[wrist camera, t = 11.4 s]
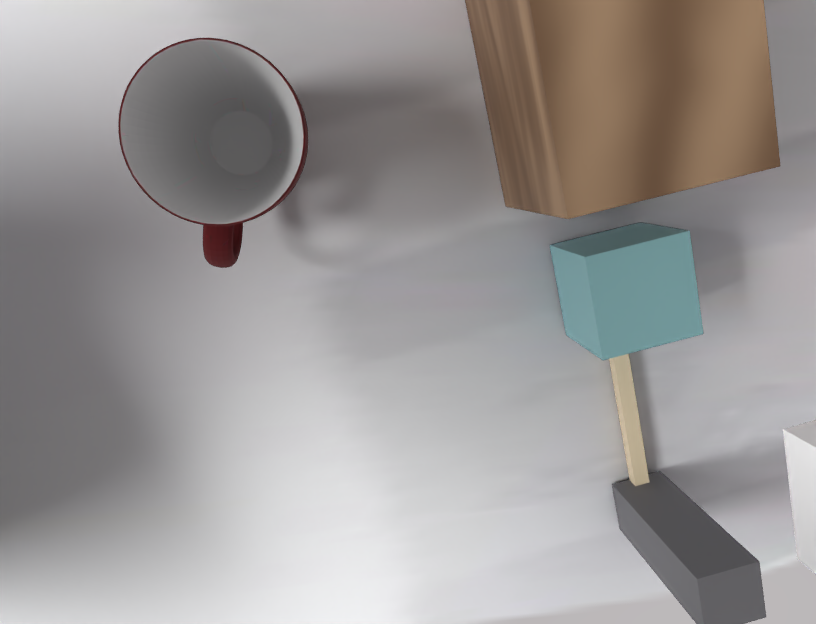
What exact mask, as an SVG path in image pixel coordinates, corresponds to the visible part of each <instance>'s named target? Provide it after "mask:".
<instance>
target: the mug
mask: <svg viewBox="0 0 816 624" xmlns="http://www.w3.org/2000/svg"><path fill="white" fill-rule="evenodd" d="M119 139H120V145H121V149H122V153H123V156H124V159H125V162H126V164H127V166H128V169H129V171H130V172H131V174H132V176H133V178H134V179H135V181H136V182H137V184H138V185H139V186H140V188H141V189H142V190H143V191H144V192H145V193H146V194H147V195H148V196H149V198H150V199H152V200H153V201H154V202H155V203H156V204H157V205H159V206H160V207H162V208H163V209H164V210H166V211H168V212H169V213H171V214H173V215H175V216H177V217H179V218H181V219H184V220H187V221H190V222H193V223H197V224H202V225H203V250H204V256H205V259H206V260H207V262H208V263H209V264H211V265H213V266H216V267H220V268H227V267H231V266H232V265H234V264H235V263H236V261H237V259H238V256H239V253H240V248H241V243H242V232H243V222H247V221H249V220H252V219H255V218H257V217H259V216H262V215H264V214H265V213H267V212H269V211H270V210H272V209H273V208H275V207H276V206H277V205H279V204H280V203H281V202H282V201H283V200H284V199H285V198H286V197H287V196H288V194H289V193H290V192H291V191H292V189H293V188H294V187H295V185H296V183H297V181H298V180H299V178H300V175H301V173H302V171H303V168H304V165H305V161H306V157H307V150H308V130H307V123H306V119H305V115H304V112H303V109H302V106H301V104H300V101H299V99H298V97H297V95H296V93H295V92H294V90H293V88H292V87H291V85H290V84H289V82H288V81H287V80H286V78H285V77H284V76H283V75H282V73H281V72H280V71H279V70H278V69H277V68H276V67H275V66H274V65H273V64H272V63H271V62H270V61H268V60H267V59H266V58H264V57H263V56H262V55H260V54H259V53H257V52H255V51H254V50H252V49H250V48H248V47H246V46H243V45H241V44H238V43H235V42H231V41H228V40H223V39H216V38H196V39H189V40H185V41H181V42H178V43H175V44H172V45H170V46H168V47H166V48H164V49H162V50H160V51H159V52H157V53H155V54H154V55H153V56H152V57H150V58H149V59H148V60H147V61H146V62H145V63H144V64H143V65H142V66H141V67H140V68H139V69H138V70H137V72H136V73H135V75H134V76H133V77H132V79H131V81H130V83H129V84H128V86H127V88H126V91H125V93H124V96H123V99H122V103H121V107H120V113H119Z"/></svg>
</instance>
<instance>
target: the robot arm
mask: <svg viewBox="0 0 816 624" xmlns="http://www.w3.org/2000/svg"><path fill="white" fill-rule="evenodd" d="M783 435H784V444H785V453H786V462H787V471H788V480H789V489H790V499H791V508H792V517H793V526H794V535H795V544H796V553H797V560H798V561H800V562H801V563H802V564H803V565H804V566H806V567H807V568H808V569H810V570H811V571H812V572H813V573H814V574H815V575H816V420H813V421H810V422H806V423H803V424H799V425H795V426H792V427H788V428H785V429H783Z"/></svg>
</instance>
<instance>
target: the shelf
mask: <svg viewBox="0 0 816 624" xmlns="http://www.w3.org/2000/svg"><path fill="white" fill-rule="evenodd" d="M465 3H466V8H467V13H468V18H469V23H470V28H471V33H472V38H473V43H474V48H475V53H476V58H477V64H478V69H479V74H480V79H481V84H482V89H483V94H484V99H485V104H486V109H487V114H488V119H489V125H490V130H491V135H492V140H493V145H494V150H495V155H496V160H497V165H498V170H499V175H500V180H501V185H502V191H503V196H504V201H505V206H506V207H511V208H516V209H521V210H526V211H530V212H535V213H540V214H545V215H550V216H555V217H560V218H565V219H570V218H574V217H578V216H582V215H587V214H591V213H595V212H599V211H603V210H607V209H611V208H615V207H619V206H623V205H627V204H631V203H635V202H639V201H643V200H647V199H651V198H655V197H659V196H663V195H667V194H671V193H675V192H679V191H683V190H687V189H691V188H695V187H699V186H703V185H707V184H711V183H715V182H719V181H723V180H727V179H731V178H735V177H739V176H743V175H747V174H751V173H755V172H759V171H763V170H767V169H771V168H775V167H779V166H780V158H779V148H778V138H777V128H776V119H775V109H774V99H773V89H772V79H771V69H770V59H769V49H768V39H767V30H766V20H765V10H764V0H465Z"/></svg>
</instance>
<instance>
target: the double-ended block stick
mask: <svg viewBox="0 0 816 624" xmlns="http://www.w3.org/2000/svg"><path fill="white" fill-rule="evenodd" d="M550 250H551V255H552V261H553V266H554V272H555V277H556V282H557V288H558V293H559V299H560V304H561V310H562V315H563V320H564V326H565V331H566V335H567V336H568V337H570V338H571V339H573V340H574V341H576V342H577V343H578V344H580V345H581V346H583V347H584V348H586V349H587V350H589V351H590V352H591V353H593V354H594V355H596V356H597V357H599V358H600V359H601V360H606V359H609V361H610V367H611V373H612V379H613V385H614V391H615V397H616V403H617V408H618V414H619V420H620V426H621V432H622V438H623V444H624V450H625V455H626V461H627V467H628V473H629V480H626V481H622V482H619V483H615V484H612V488H613V494H614V499H615V505H616V511H617V516H618V522H619V527H620V530H621V531H622V532H623V534H624V535H625V536H626V537H627V538H628V540H629V541H630V542H631V543H632V545H633V546H634V547H635V548H636V550H637V551H638V552H639V553H640V555H641V556H642V557H643V558H644V559H645V561H646V562H647V563H648V564H649V566H650V567H651V568H652V569H653V571H654V572H655V573H656V574H657V576H658V577H659V578H660V579H661V580H662V582H663V583H664V584H665V585H666V587H667V588H668V589H669V590H670V592H671V593H672V594H673V595H674V597H675V598H676V599H677V600H678V601H679V603H680V604H681V605H682V606H683V608H684V609H685V610H686V611H687V612H688V614H689V615H690V616H691V617H692V619H693V620H694V621H695V622H696V624H745V623H748V622H751V621H755V620H758V619H762V618H765V617H766V611H765V603H764V595H763V587H762V580H761V571H760V563H759V561H758V560H757V559H756V558H755V557H754V556H753V555H752V554H751V553H749V552H748V551H747V550H746V549H745V548H744V547H743V546H742V545H741V544H740V543H738V542H737V541H736V540H735V539H734V538H733V537H732V536H731V535H730V534H729V533H727V532H726V531H725V530H724V529H723V528H722V527H721V526H720V525H719V524H718V523H716V522H715V521H714V520H713V519H712V518H711V517H710V516H709V515H708V514H707V513H705V512H704V511H703V510H702V509H701V508H700V507H699V506H698V505H697V504H696V503H694V502H693V501H692V500H691V499H690V498H689V497H688V496H687V495H686V494H685V493H684V492H682V491H681V490H680V489H679V488H678V487H677V486H676V485H675V484H674V483H673V482H671V481H670V480H669V479H668V478H667V477H666V476H665V475H664V474H663V473H662V472H660V471H658V472H655V473H651V474H648V470H647V464H646V457H645V451H644V445H643V439H642V433H641V427H640V421H639V414H638V408H637V402H636V396H635V390H634V384H633V378H632V371H631V365H630V359H629V353H633V352H637V351H641V350H644V349H648V348H652V347H656V346H660V345H663V344H667V343H671V342H675V341H679V340H682V339H686V338H690V337H694V336H698V335H701V334H703V327H702V319H701V312H700V304H699V297H698V290H697V282H696V275H695V267H694V260H693V253H692V245H691V238H690V231H689V230H683V229H677V228H671V227H664V226H658V225H652V224H646V223H636V224H632V225H628V226H624V227H620V228H616V229H612V230H608V231H604V232H600V233H596V234H592V235H588V236H584V237H580V238H576V239H572V240H568V241H564V242H560V243H556V244H552V245H550Z"/></svg>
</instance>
